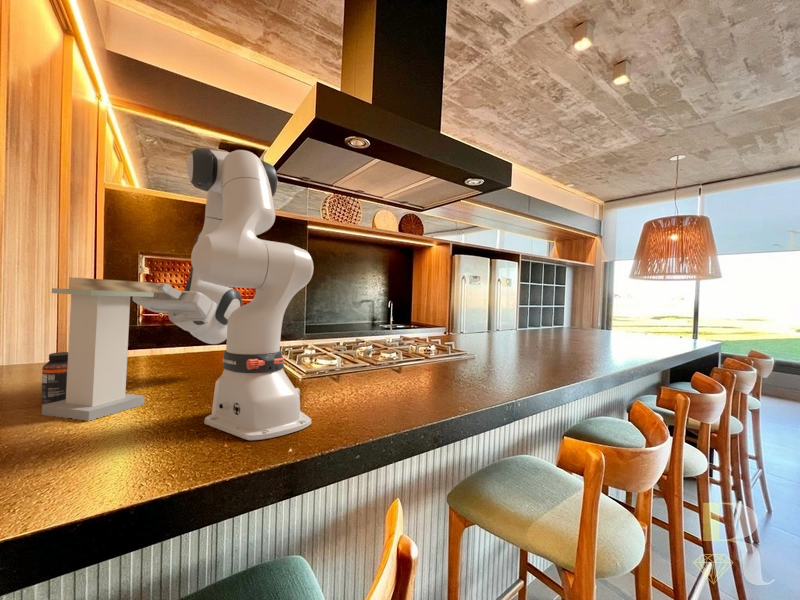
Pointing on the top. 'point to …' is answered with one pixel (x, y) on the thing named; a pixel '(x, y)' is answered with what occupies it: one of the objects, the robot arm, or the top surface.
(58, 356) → the supplement bottle
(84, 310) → the stand
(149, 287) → the baton
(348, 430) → the top surface
